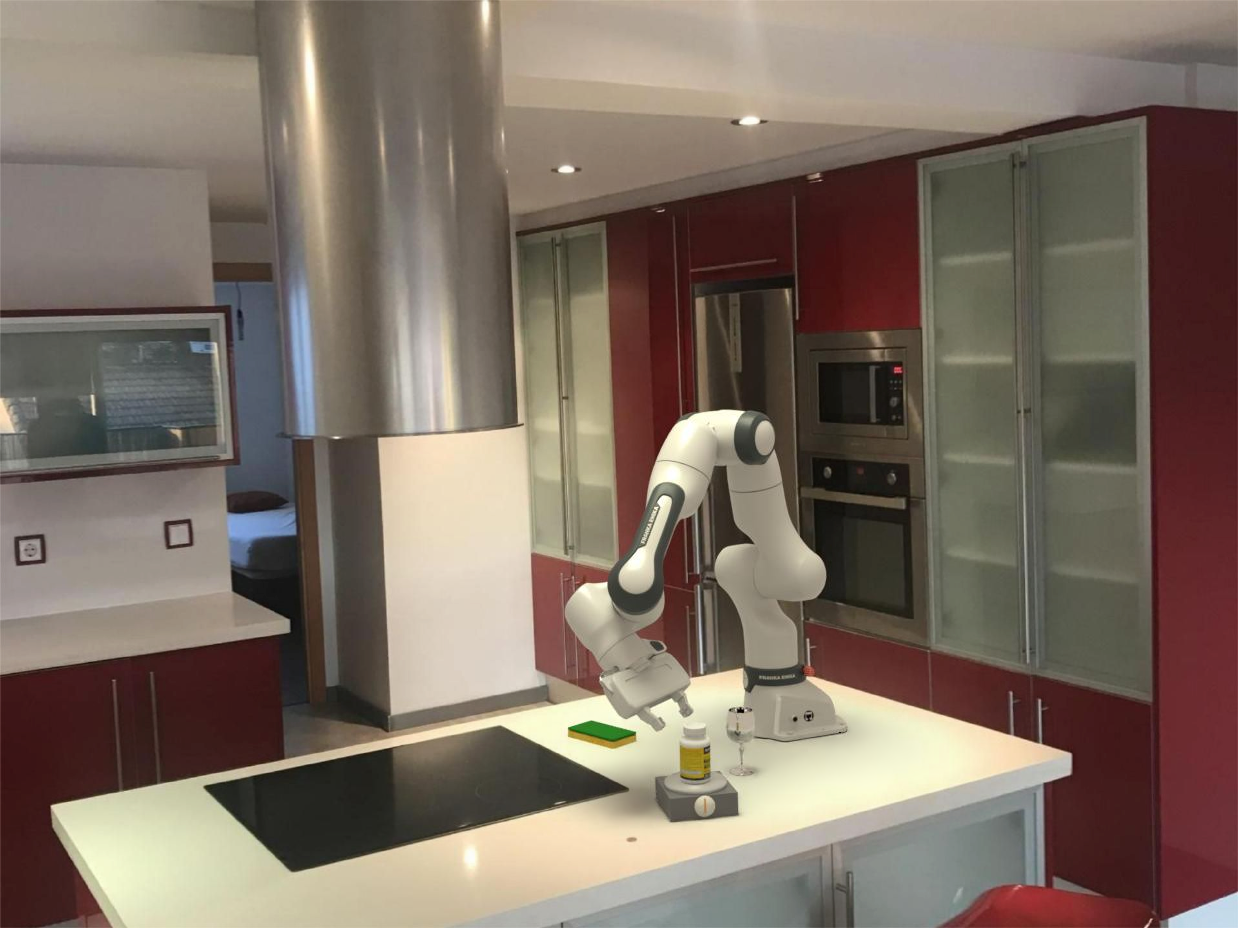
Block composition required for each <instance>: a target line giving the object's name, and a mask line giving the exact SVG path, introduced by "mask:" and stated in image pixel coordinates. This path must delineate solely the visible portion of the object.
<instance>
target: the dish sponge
mask: <svg viewBox="0 0 1238 928" xmlns="http://www.w3.org/2000/svg"><path fill="white" fill-rule="evenodd" d="M567 734H568V735H567V736H568V738H572V739H575V740H579V741H581V742H582V741H584V742H586V743H589V744H590V743H591V744H593V745H598V746H600V747H604V748H608V749H613V750H614V749H617V748H620V747H623V746H627V745H629V744H632V743H636V742H637V731H635V730H631V729H627V728H623V727H619V726H615V725H612V724H607V723H604V722H600V721H595V720H588V721H584V722H582V723H577V724H574V725H571V726H568V727H567Z"/></svg>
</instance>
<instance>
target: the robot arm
mask: <svg viewBox="0 0 1238 928" xmlns="http://www.w3.org/2000/svg"><path fill="white" fill-rule="evenodd" d="M776 442H777V433H776V428H775V426H774V423H773V422H772V421H771V419H770V418H769V417H768V415H766V414H764V413H762V412H759V411H754V410H746V411H745V410H738V409H736V410H735V409H719V410H712V411H711V410H710V411H703V412H700V411H693V412H689V413H685V414H684V415H682V416H681V417H679V418H678V419H677V421H676V422H675V424H674V426H673V427H672V429H671V430H670V432H669V433H668V435H667V437H666V438H665V440H664V442H663V444H662V446H661V448H660V451H659V453H658V455H657V457H656V460H655V463H654V465H653V468H652V471H651V474H650V478H649V481H648V487H647V493H646V502H645V509H644V513H643V514H642V517H641V520H640V522H639V525H638V528H637V530H636V533H635V536H634V538H633V540H632V543H631V545H630V546H629V548H628V550H627V551H626V552H625V553H624V555H623V556H622V557H621V558H619V560H618V561H617V562H616V563H615V564H614V565H613V566H612V568H611V570H610V571H609V573H608V576H607V580H606V582H597V583H594V582H593V583H590V582H585V583H584V584H582V585H581V586H579V587H578V588H576V589H575V590H574V592H573V593H572V594H571V595H570V597H569V598H568V600H567V601H566V603H565V606H564V618H565V620H566V622H567V623H568V626H569V627H570V629H571V630H572V632H573V633H574V635H575V636H576V638H577V639H578V640H579V641H580V643H581V644H582V646H583V647H585V648H586V649H587V650H589V652H590V653H592V654H593V656H594V657H595V660H596V663H597V664H598V666H599V667H600V668H601V669H602V670H603V671H601V672H600V673H599V684H600V685H601V687H602V688H603V693H604V695H605V697H606V699H607V700H608V702H609V703H610V705H611V707H612V708H613V709H614V711H615V712H616V714H617V716H619V717H620V718H622V719H623V720H629V719H631V718H633V717H635V716H637V717H638V718H639V719H640V721H643V722H644V723H645V724H647V725H650V726H651V727H652V729H653V731H655V732H656V733H657V732H659V731H662V730H663V729H664V728H665V727H666V726H667V725H666V722H665V721H664V719H663V718H662V717H661V716H659V717H658V716H657V715H655V714H654V713H653V712H651V711H652V709H651V708H654V707H656V706H658V705H660V704H662V703H665V702H667V701H669V700H671V699H672V701H673V703H675V704H676V703H677V705H678V708H679V710H678V713H679V714H680V715H681V716H682V718H684V719H686V718H688V717H691V715H693V713H694V709H693V707H691V704H689V700H688V697H687V694H686V692H685V691H686V690H687V689H688V688H689V687H690V685H691V678H690V676H689V674H688V673H687V671H686V670H685V669H684V667H683V666H682V665H681V664H680V662H679V661H678V660H677V659H676V658H675V657H674V656H673V655H672V654H671V653H669V652H667V650H668V647H667V646H666V644H665V643H664V642H663V641H662V640H654V639H647V638H640V636H639V635H638V632H639V631H641V630H643V629H645V628H647V627H648V626H650V625H652V624H654V623H656V621H657V620H659V619H660V617H661V616H662V614H663V612H664V608H665V604H666V603H665V591H664V588H665V577H664V576H665V575H664V570H663V567H664V566H663V565H664V560H665V556H666V554H667V550H668V548H669V545H670V543H671V540H672V538H673V535H674V533H675V532H674V531H675V530H676V527H677V525H678V524H679V522H680V521H681V520H683V519H687V518H689V517H691V516H693V515H694V514H696V512H697V511H698V509H699V507H700V506H701V503H702V501H703V500H704V498H705V496H706V493H707V490H708V487H709V484H710V482H711V480H712V475H713V472H714V467H716V466H718V467H725V466H726V475H727V476H726V477H727V484H728V492H729V497H730V503H731V509H732V516H733V520H734V524H735V526H737V528H738V529H739V530H740V531H741V532H742V533H744V534H745V535H746V536H748V537H749V538H750V540H751V541H752V542H753V544H752V543H741V544H733V545H728V546H726V547H724V548H723V549H722V550H721V551H720V552H719V553H718V555H717V558H716V560H715V562H714V575H715V579H716V581H717V584H718V585H719V586H720V587H721V588H722V589H723V590H724V591H725V592H726V594H728V596H729V597H730V599H731V600H732V602H733V604H734V606H735V608H736V609H737V613H738V614H739V615H738V616H739V618H740V621H741V625H742V630H743V641H744V642H743V643H744V662H743V664H742V666H743V667H742V669H743V670H742V684H743V685H742V687H743V689H744V690H743V691H744V699H743V706H742V707H748V708H751V709H753V713H754V716H755V721H756V734H755V736H754V737H757V738H766V739H772V740H776V741H781V742H789V741H790V742H791V741H796V740H802V739H809V738H814V737H815V738H816V737H820V736H827V735H828V736H829V735H833V734H840V733H839V732H841V733H845V732H846V731H847V730H848V726H847V723H846V721H845V719H844V718H843V717H841V716H839V715H837V713H836V709H835V705H834V703H833V700H832V698H831V697H830V696H829V695H828V694H827V693H826V692H825V691H823V689H821V688H820V687H818V686H817V685H816V684H815V683H813V682H811V681H810V680H809V679H807V678H811V677H813V676H814V675H815V669H814V668H813V667H812V666H810V665H806V664H804V663H802V662H801V661H799V657H798V655H799V654H798V653H799V652H798V628H797V626H796V624H795V622H794V621H793V620H792V619H791V618H790V617H789V616H787V615H786V614H785V613H784V611H783V610H782V608H781V606H780V605H779V602H778V601H784V602H785V601H787V602H801V601H802V602H803V601H808V600H809V601H810V600H814V599H816V598H817V597H818V596H819V595H820V594H821V593H822V591H823V589H824V588H825V585H826V580H827V569H826V566H825V563H824V561H823V560H822V558H821V557H820V556H819V555H818V554H817V553H815V552H814V551H813V550H812V549H810V548H809V547H808V545H807V544H806V543H805V542H804V541H803V539H802V538H801V537H800V535H799V534H798V532H797V530H796V528H795V526H794V524H793V521H792V519H791V517H790V514H789V510H788V506H787V502H786V497H785V490H784V486H783V478H782V477H783V476H782V471H781V468H780V464H779V460H778V457H777V453H776V450H775V447H776Z"/></svg>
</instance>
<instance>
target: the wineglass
mask: <svg viewBox="0 0 1238 928" xmlns="http://www.w3.org/2000/svg"><path fill="white" fill-rule="evenodd" d="M725 732H726V736H727V737H728V739H729V740H731V741H732V742H734V743H736V744H739V746H738V752H739V755H740V764H739V767H735V768H732V769H731V770H730V771H729V772H730V774H731V775H734V776H749V775H752V774H754V773H755V771H754V769H752V768H749V767H745V765H744V751H745V746H744V744H746V743H749V742H750V741H752V740H753V739H754V738H755V737H756V736H755V734H756V721H755V716H754V713H753V709H751V708H748V707H743V706H736V707H731V708H728V710H727V715H726V720H725Z"/></svg>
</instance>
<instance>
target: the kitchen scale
mask: <svg viewBox="0 0 1238 928" xmlns="http://www.w3.org/2000/svg"><path fill="white" fill-rule="evenodd" d="M654 778H655V780H654V782H655V788H654V789H655V800H656V801H657V802H658V805H659V806H660V807H661V809H662V811H663V812H664V814H665V815H666V816H667V818H668V820H669V821H670V822H671V823H672V821H673V822H681V821H691V820H701V819H702V820H703V819H709V818H710V819H712V818H721V817H732V816H739V792H738V791H737V789H736V788H735V787H734V786H733V785H732V784H731V782H730V781H729V780H728V779H727V777H726V776H725V775H724V774H723V772H721V770H716V771H715V770H714V771H711V778H710V780H709V781H708V782H706V783H702V784H689V783H685V782H683V781H682V780H681V779H680V771H678V772H673V773H671V774H669V775H663V776H662V775H661V776H654Z"/></svg>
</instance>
